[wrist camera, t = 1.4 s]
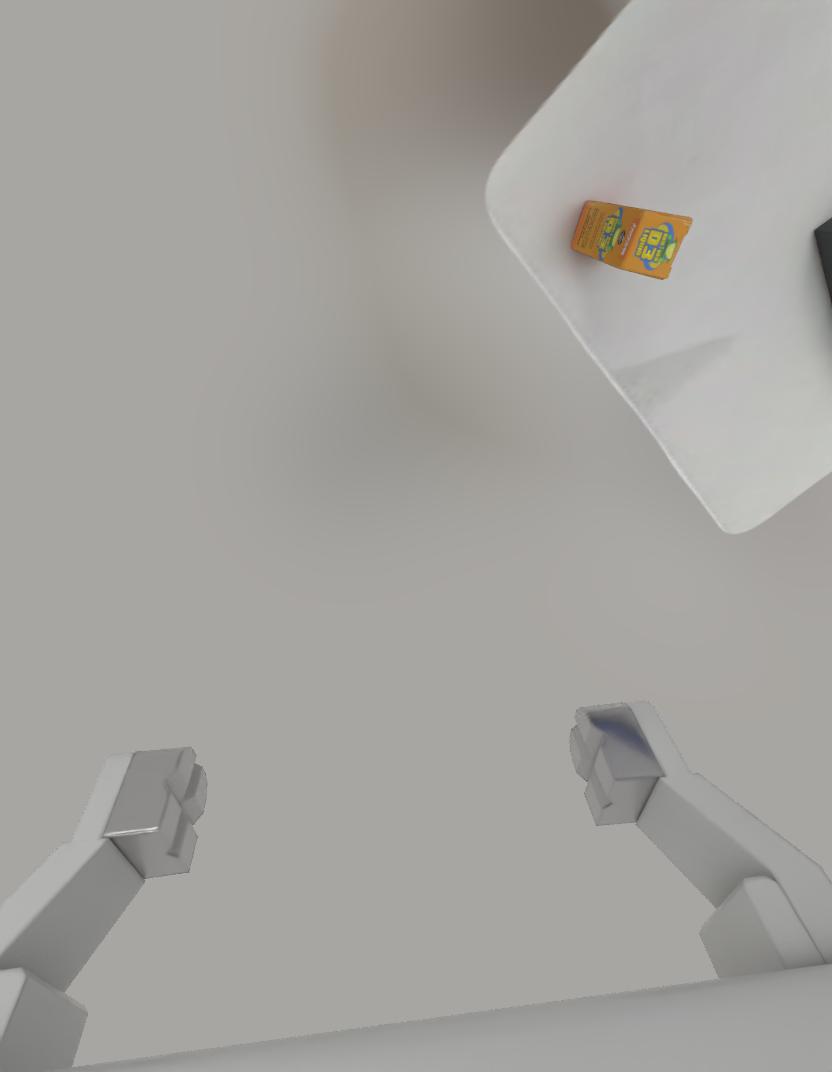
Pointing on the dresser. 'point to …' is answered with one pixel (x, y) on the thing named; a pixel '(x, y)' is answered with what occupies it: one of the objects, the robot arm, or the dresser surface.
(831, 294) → the kitchen scale
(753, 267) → the dresser surface
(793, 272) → the dresser surface
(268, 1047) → the robot arm
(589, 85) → the dresser surface
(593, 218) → the supplement box
